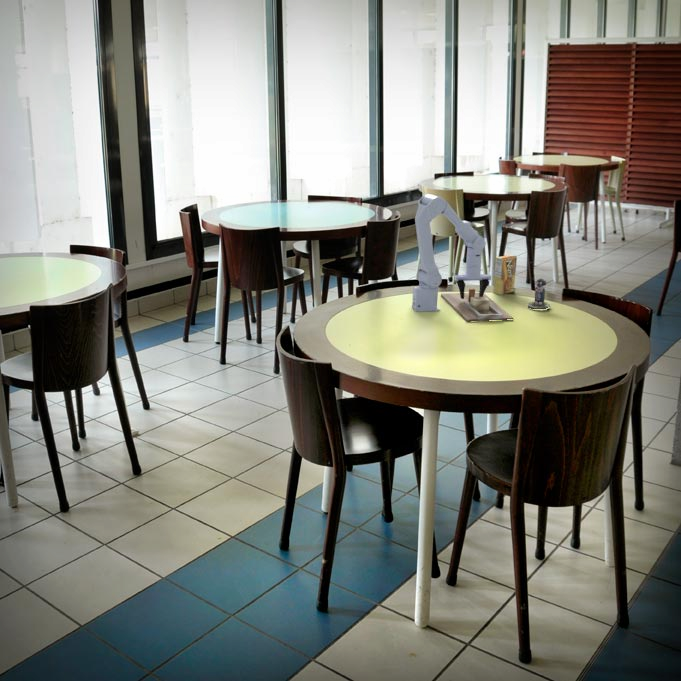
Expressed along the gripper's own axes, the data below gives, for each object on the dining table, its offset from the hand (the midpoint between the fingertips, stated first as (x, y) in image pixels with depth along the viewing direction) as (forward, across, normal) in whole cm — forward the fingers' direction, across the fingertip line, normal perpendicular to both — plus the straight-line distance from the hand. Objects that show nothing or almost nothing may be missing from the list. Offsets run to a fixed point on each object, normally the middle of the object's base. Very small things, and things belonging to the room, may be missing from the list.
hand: (471, 298), depth 336 cm
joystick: (+1, 0, +6) cm, 6 cm away
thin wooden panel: (+2, 0, +6) cm, 6 cm away
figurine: (+3, -25, +8) cm, 27 cm away
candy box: (+3, -19, -16) cm, 25 cm away
